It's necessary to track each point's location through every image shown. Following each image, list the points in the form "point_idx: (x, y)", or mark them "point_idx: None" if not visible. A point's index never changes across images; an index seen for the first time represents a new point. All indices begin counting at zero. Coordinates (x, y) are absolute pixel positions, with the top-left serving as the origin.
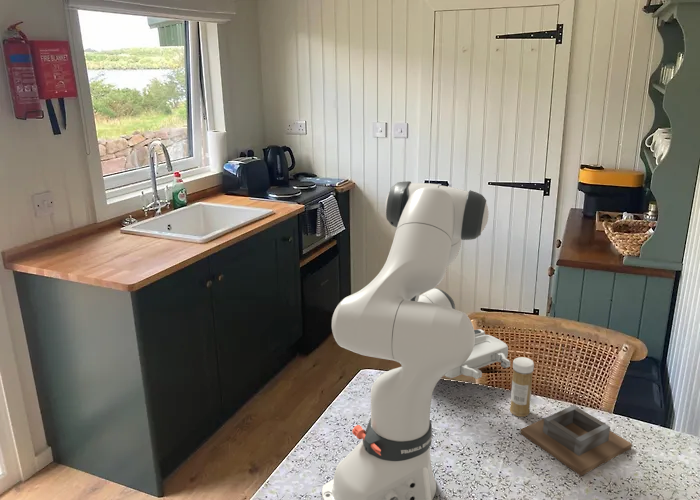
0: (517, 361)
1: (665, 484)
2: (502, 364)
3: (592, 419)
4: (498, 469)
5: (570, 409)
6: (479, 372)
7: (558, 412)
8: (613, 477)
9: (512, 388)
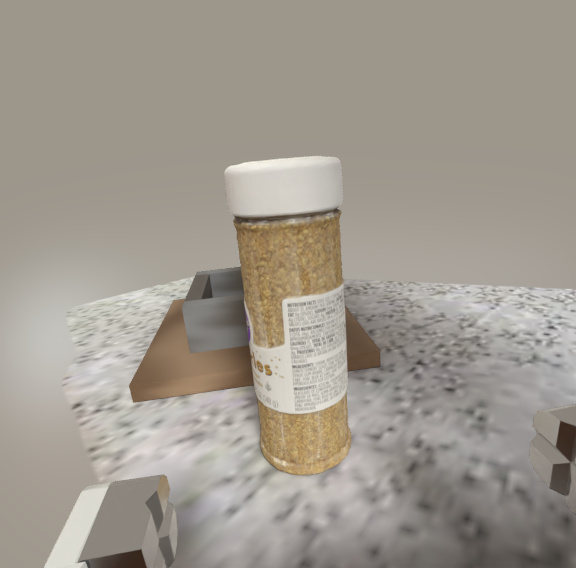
0: (316, 156)
1: None
2: (162, 562)
3: (204, 281)
4: (495, 311)
5: (210, 300)
6: (568, 406)
7: None
8: None
9: (345, 324)
